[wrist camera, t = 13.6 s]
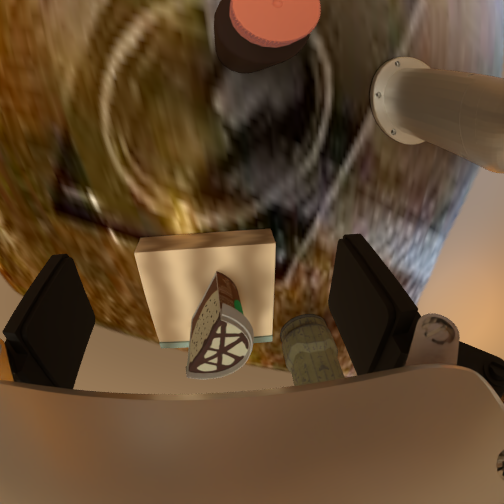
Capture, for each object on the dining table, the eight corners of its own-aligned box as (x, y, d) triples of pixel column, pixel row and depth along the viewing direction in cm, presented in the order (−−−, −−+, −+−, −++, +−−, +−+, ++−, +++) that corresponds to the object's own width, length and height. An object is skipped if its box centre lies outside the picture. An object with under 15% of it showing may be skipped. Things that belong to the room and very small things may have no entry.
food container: (225, 335, 46) (229, 389, 37) (188, 325, 44) (185, 379, 35) (263, 277, 41) (275, 331, 32) (221, 262, 39) (223, 316, 30)
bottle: (284, 38, 28) (357, -4, 11) (256, 83, 31) (301, 81, 14) (233, 12, 26) (252, -61, 9) (204, 58, 29) (188, 25, 12)
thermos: (305, 355, 57) (351, 522, 27) (263, 332, 52) (302, 532, 22) (340, 330, 54) (406, 502, 25) (301, 302, 49) (369, 513, 20)
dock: (270, 228, 41) (276, 244, 38) (268, 323, 51) (272, 341, 47) (140, 237, 40) (133, 254, 36) (163, 329, 49) (161, 348, 46)
